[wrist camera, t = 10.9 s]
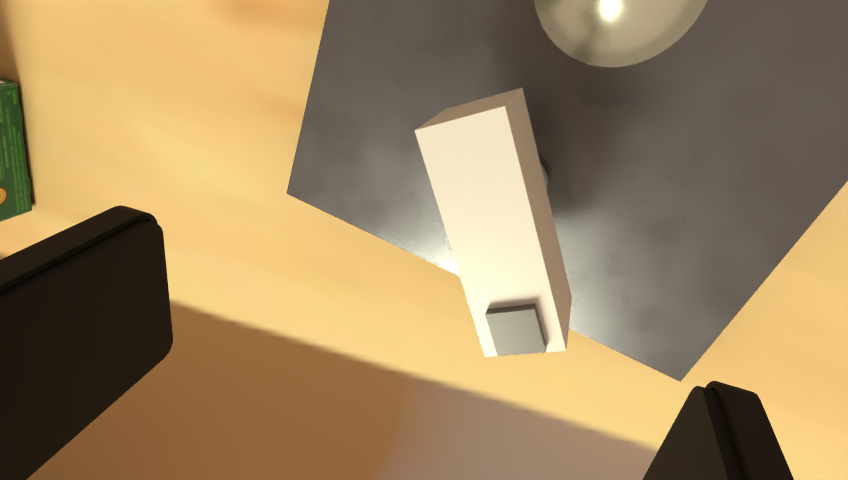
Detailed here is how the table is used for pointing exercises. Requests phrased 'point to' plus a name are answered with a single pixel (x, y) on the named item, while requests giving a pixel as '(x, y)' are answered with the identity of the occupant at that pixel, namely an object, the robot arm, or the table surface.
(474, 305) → the white t-shaped handle
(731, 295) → the levelling plate
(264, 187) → the table surface
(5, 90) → the coffee box
